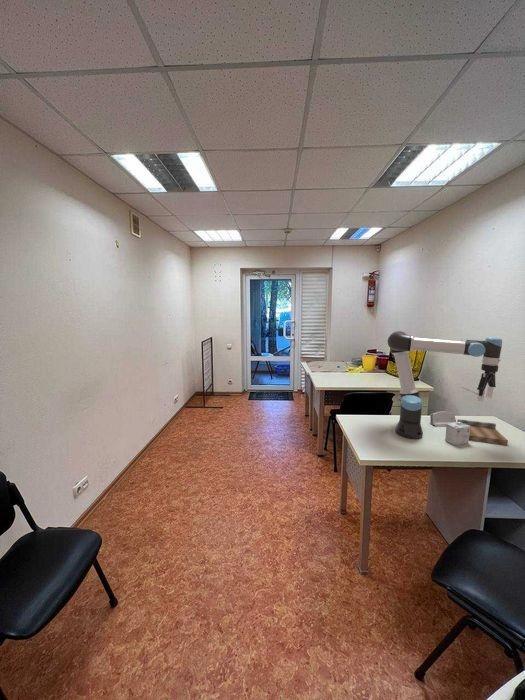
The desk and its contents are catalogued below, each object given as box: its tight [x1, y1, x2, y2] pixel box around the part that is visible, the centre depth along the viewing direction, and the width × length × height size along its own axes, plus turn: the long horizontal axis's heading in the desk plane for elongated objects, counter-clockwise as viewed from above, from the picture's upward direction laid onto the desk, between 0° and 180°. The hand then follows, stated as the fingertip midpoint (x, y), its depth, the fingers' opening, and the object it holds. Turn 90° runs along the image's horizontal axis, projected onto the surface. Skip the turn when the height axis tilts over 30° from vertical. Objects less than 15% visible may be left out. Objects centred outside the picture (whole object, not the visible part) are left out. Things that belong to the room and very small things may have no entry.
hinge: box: [429, 410, 457, 428], centre depth 185 cm, size 17×5×10 cm, turn 94°
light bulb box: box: [444, 421, 470, 446], centre depth 160 cm, size 11×7×11 cm, turn 106°
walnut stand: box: [456, 418, 509, 446], centre depth 168 cm, size 20×18×6 cm
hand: (484, 399), depth 161 cm, fingers open, 13 cm apart
